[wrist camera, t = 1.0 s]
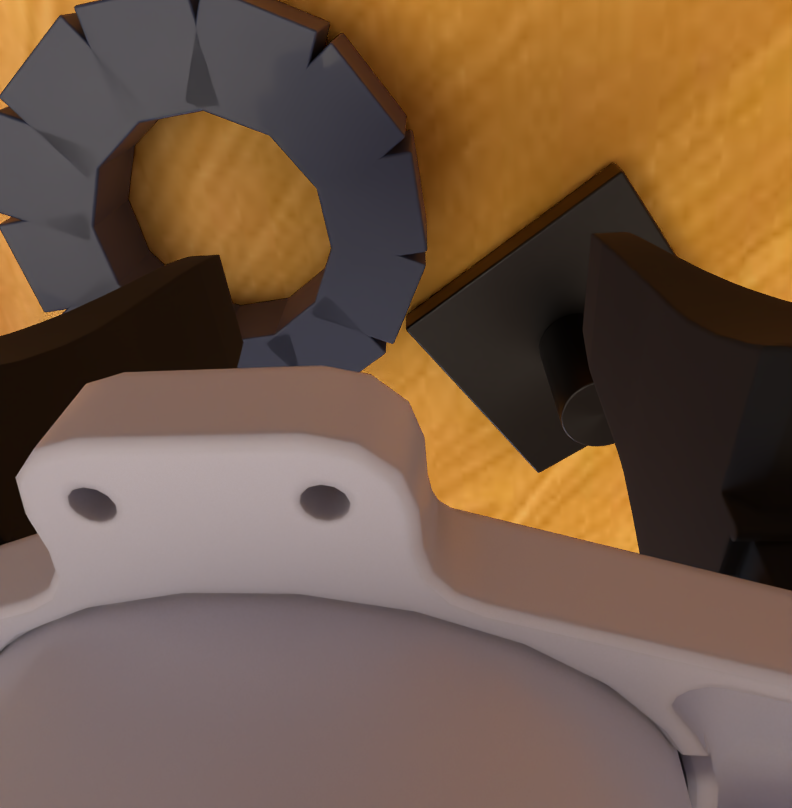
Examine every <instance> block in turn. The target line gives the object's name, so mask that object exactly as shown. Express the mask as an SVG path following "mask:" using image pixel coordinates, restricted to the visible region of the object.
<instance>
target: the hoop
mask: <svg viewBox="0 0 792 808" xmlns="http://www.w3.org/2000/svg"><path fill="white" fill-rule="evenodd" d="M74 8H75V11H76V13H72V14H65V15H60V16H59V17H58V18H57V20H56V21H55V22H54V24H53V25H52V26H51V28H50V29H49V30H48V32H47V33H46V34H45V36H44V37H43V38H42V40H41V41H40V42H39V44H38V45H37V46H36V48H35V49H34V50H33V52H32V53H31V54H30V55H29V57H28V58H27V59H26V61H25V62H24V63H23V65H22V66H21V67H20V69H19V70H18V71H17V73H16V74H15V75H14V77H13V78H12V79H11V81H10V82H9V83H8V85H7V86H6V87H5V89H4V90H3V91H2V93H1V94H0V99H1V100H2V101H3V102H5V103H6V104H7V105H8V106H9V107H6V108H3V109H1V110H0V213H2V214H5V215H8V216H11V218H9V219H8V220H6V221H4V222H3V223H1V224H0V230H1V232H2V234H3V236H4V237H5V239H6V241H7V243H8V245H9V247H10V249H11V251H12V252H13V254H14V256H15V258H16V260H17V262H18V264H19V266H20V267H21V269H22V271H23V273H24V275H25V277H26V279H27V281H28V282H29V284H30V286H31V288H32V290H33V292H34V294H35V296H36V297H37V299H38V301H39V303H40V305H41V307H42V309H43V311H44V312H51V311H57V310H64V309H66V310H65V312H64V313H66V312H69V311H71V310H73V309H75V308H77V307H80V306H82V305H84V304H86V303H88V302H90V301H93V300H95V299H97V298H99V297H101V296H103V295H105V294H108V293H110V292H112V291H114V290H116V289H118V288H120V287H122V286H124V285H126V284H128V283H130V282H132V281H134V280H136V279H138V278H140V277H142V276H144V275H146V274H148V273H150V272H152V271H154V270H156V269H158V268H160V267H163V266H165V265H164V264H163V263H162V262H161V261H160V260H159V259H157V258H156V257H155V256H154V255H153V254H152V253H151V252H150V251H149V249H148V247H147V244H146V242H145V239H144V237H143V234H142V232H141V229H140V227H139V225H138V222H137V220H136V217H135V215H134V212H133V210H132V207H131V205H130V202H129V200H128V196H129V188H130V179H131V171H132V163H133V155H134V147H135V145H136V144H137V142H138V141H139V140H140V139H141V138H142V137H143V136H144V135H145V134H146V133H147V131H148V130H149V129H150V128H151V127H152V126H153V125H154V124H155V123H156V121H157V120H158V119H163V118H168V117H173V116H178V115H183V114H189V113H194V112H199V111H206V112H208V113H211V114H213V115H216V116H219V117H221V118H224V119H227V120H229V121H232V122H235V123H237V124H240V125H243V126H245V127H248V128H251V129H253V130H256V131H259V132H261V133H264V134H266V135H269V136H270V137H271V138H272V139H273V140H274V141H275V142H276V143H277V144H278V146H279V147H280V148H281V149H282V150H283V151H284V152H285V153H286V155H287V156H288V157H289V158H290V159H291V160H292V161H293V162H294V164H295V165H296V166H297V167H298V168H299V169H300V170H301V171H302V173H303V174H304V175H305V176H306V177H307V178H308V179H309V180H310V182H311V183H312V184H313V185H314V186H315V187H316V188H317V192H318V196H319V200H320V204H321V208H322V212H323V216H324V220H325V225H326V229H327V233H328V237H329V241H330V245H331V251H330V254H329V257H328V260H327V263H326V266H325V268H324V269H323V270H322V271H321V272H319V273H318V274H317V275H316V276H315V277H313V278H312V279H311V280H310V281H309V282H307V283H306V284H305V285H304V286H303V287H301V288H300V289H299V290H298V291H297V292H295V293H294V294H293V295H292V296H291V297H289V298H286V299H279V300H273V301H266V302H260V303H253V304H247V305H237V304H234V303H233V307H234V310H235V314H236V318H237V321H238V325H239V328H240V332H241V336H242V339H243V347H242V351H241V355H240V359H239V363H238V367H237V368H263V367H292V366H321V365H322V366H328V367H333V368H338V369H344V370H349V371H355V372H360V371H362V370H363V369H364V368H366V367H367V366H368V365H370V364H371V363H373V362H374V361H375V360H377V359H378V358H379V357H381V356H382V355H384V354H385V353H386V343H387V342H388V343H391V344H393V343H394V342H395V339H396V337H397V334H398V332H399V330H400V327H401V325H402V322H403V320H404V317H405V315H406V313H407V310H408V308H409V305H410V303H411V300H412V298H413V296H414V293H415V291H416V288H417V286H418V283H419V281H420V279H421V276H422V274H423V271H424V269H425V266H426V258H425V251H427V220H426V213H425V206H424V200H423V193H422V187H421V180H420V174H419V167H418V161H417V154H416V148H415V141H414V135H413V131H412V130H408V131H405V130H406V118H407V116H406V114H405V113H404V112H403V110H402V109H401V108H400V106H399V105H398V104H397V103H396V101H395V100H394V99H393V97H392V96H391V95H390V93H389V92H388V91H387V90H386V88H385V87H384V86H383V84H382V83H381V82H380V80H379V79H378V78H377V77H376V75H375V74H374V73H373V71H372V70H371V69H370V67H369V66H368V65H367V64H366V62H365V61H364V60H363V58H362V57H361V56H360V54H359V53H358V52H357V50H356V49H355V48H354V47H353V45H352V44H351V43H350V41H349V40H348V39H347V37H346V36H345V35H344V34H343V33H341V34H340V35H338V36H337V37H336V38H335V39H334V40H333V41H332V42H330V43H329V44H328V45H327V46H326V47H325V48H324V45H325V41H326V37H327V34H328V30H329V26H330V23H329V22H328V21H325V20H323V19H320V18H318V17H316V16H313V15H311V14H308V13H306V12H304V11H301V10H299V9H296V8H294V7H291V6H289V5H287V4H284V3H282V2H279V1H277V0H98V1H94V2H89V3H85V4H80V5H76V6H75V7H74ZM64 313H63V314H64Z"/></svg>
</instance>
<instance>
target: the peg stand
mask: <svg viewBox="0 0 792 808" xmlns="http://www.w3.org/2000/svg"><path fill="white" fill-rule="evenodd" d="M611 232H628V233H632V234H634V235H636V236H639V237H641V238H643V239H645V240H647V241H648V242H650V243H652V244H654V245H656V246H658V247H660V248H661V249H663V250H665V251H667V252H669V253H671V254H673V255H675V253H674V252H673V250H672V248H671V247H670V245H669V244H668V242H667V240H666V239H665V237H664V236H663V234H662V232H661V231H660V229H659V228H658V226H657V224H656V223H655V221H654V220H653V218H652V216H651V215H650V213H649V212H648V210H647V208H646V207H645V205H644V204H643V202H642V200H641V199H640V197H639V196H638V194H637V192H636V191H635V189H634V188H633V186H632V184H631V183H630V181H629V180H628V178H627V176H626V175H625V173H624V172H623V171H622V170H621V169H620V168H619V167H618V166H617V165H616V164H615V163H612V164H610V165H609V166H607V167H606V168H605V169H603V170H602V171H601V172H599V173H598V174H597V175H595V176H594V177H593V178H591V179H590V180H589V181H587V182H586V183H585V184H583V185H582V186H581V187H579V188H578V189H576V190H575V191H574V192H572V193H571V194H570V195H568V196H567V197H566V198H564V199H563V200H562V201H560V202H559V203H558V204H556V205H555V206H554V207H552V208H551V209H549V210H548V211H547V212H545V213H544V214H543V215H541V216H540V217H539V218H537V219H536V220H535V221H533V222H532V223H531V224H529V225H528V226H527V227H525V228H524V229H522V230H521V231H520V232H518V233H517V234H516V235H514V236H513V237H512V238H510V239H509V240H508V241H506V242H505V243H504V244H502V245H501V246H500V247H498V248H497V249H496V250H494V251H493V252H491V253H490V254H489V255H487V256H486V257H485V258H483V259H482V260H481V261H479V262H478V263H477V264H475V265H474V266H473V267H471V268H470V269H469V270H467V271H466V272H464V273H463V274H462V275H460V276H459V277H458V278H456V279H455V280H454V281H452V282H451V283H450V284H448V285H447V286H446V287H444V288H443V289H442V290H440V291H439V292H438V293H436V294H435V295H433V296H432V297H431V298H429V299H428V300H427V301H425V302H424V303H423V304H421V305H420V306H419V307H417V308H416V309H415V310H413V311H412V312H411V313H409V314H408V315H407V316H406V330H407V332H408V333H409V334H410V335H411V336H412V337H413V338H414V339H415V340H416V341H417V342H418V343H419V345H420V346H421V347H422V348H423V349H424V350H425V351H426V352H427V353H428V354H429V355H430V356H431V357H432V359H433V360H434V361H435V362H436V363H437V364H438V365H439V366H440V367H441V368H442V369H443V370H444V372H445V373H446V374H447V375H448V376H449V377H450V378H451V379H452V380H453V381H454V382H455V383H456V385H457V386H458V387H459V388H460V389H461V390H462V391H463V392H464V393H465V394H466V395H467V396H468V398H469V399H470V400H471V401H472V402H473V403H474V404H475V405H476V406H477V407H478V408H479V409H480V411H481V412H482V413H483V414H484V415H485V416H486V417H487V418H488V419H489V420H490V421H491V422H492V424H493V425H494V426H495V427H496V428H497V429H498V430H499V431H500V432H501V433H502V434H503V435H504V437H505V438H506V439H507V440H508V441H509V442H510V443H511V444H512V445H513V446H514V447H515V448H516V450H517V451H518V452H519V453H520V454H521V455H522V456H523V457H524V458H525V459H526V460H527V461H528V463H529V464H530V465H531V466H532V467H533V468H534V469H535V470H536V471H537V472H538V473H540V472H542V471H543V470H545V469H547V468H549V467H551V466H552V465H554V464H556V463H558V462H559V461H561V460H563V459H565V458H567V457H568V456H570V455H572V454H574V453H575V452H577V451H579V450H581V449H583V448H584V447H586V446H606V445H610V444H614V443H615V442H614V439H613V437H612V434H611V431H610V428H609V425H608V422H607V419H606V417H605V414H604V411H603V408H602V405H601V402H600V399H599V397H598V394H597V391H596V388H595V385H594V382H593V379H592V376H591V373H590V370H589V365H588V359H587V354H586V348H585V342H584V335H583V319H584V309H585V298H586V287H587V276H588V265H589V254H590V243H591V234H594V233H611ZM675 256H676V255H675ZM676 257H677V256H676Z"/></svg>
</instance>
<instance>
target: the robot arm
mask: <svg viewBox="0 0 792 808" xmlns="http://www.w3.org/2000/svg"><path fill="white" fill-rule="evenodd" d="M583 335H584V342H585V348H586V354H587V359H588V365H589V370H590V373H591V376H592V379H593V382H594V385H595V388H596V391H597V394H598V397H599V399H600V402H601V405H602V408H603V411H604V414H605V417H606V419H607V422H608V425H609V428H610V431H611V434H612V437H613V439H614V442H615V445H616V448H617V451H618V454H619V457H620V461H621V464H622V468H623V471H624V476H625V481H626V486H627V490H628V495H629V500H630V505H631V510H632V514H633V520H634V525H635V530H636V536H637V541H638V546H639V552H640V554H638V553H634V552H630V551H626V550H622V549H618V548H614V547H610V546H605V545H601V544H597V543H593V542H589V541H585V540H581V539H577V538H573V537H569V536H564V535H560V534H556V533H552V532H548V531H544V530H540V529H536V528H532V527H527V526H523V525H519V524H515V523H511V522H507V521H503V520H499V519H495V518H491V517H486V516H482V515H478V514H474V513H470V512H466V511H462V510H458V509H454V508H450V507H449V506H447V505H445V504H444V503H442V502H441V501H439V500H438V499H437V497H436V496H435V494H434V493H433V491H432V489H431V485H430V481H429V478H428V473H427V462H426V450H425V439H424V435H423V433H422V431H421V428H420V426H419V424H418V422H417V419H416V417H415V415H414V413H413V410H412V408H411V406H410V403H409V401H407V400H406V399H404V398H403V397H402V396H400V395H399V394H397V393H396V392H395V391H393V390H392V389H390V388H389V387H388V386H386V385H385V384H383V383H382V382H381V381H379V380H378V379H376V378H375V377H374V376H372V375H371V374H365V373H360V372H355V371H349V370H344V369H338V368H333V367H328V366H322V365H321V366H292V367H263V368H237V367H238V363H239V359H240V355H241V351H242V347H243V339H242V336H241V332H240V328H239V325H238V321H237V318H236V314H235V310H234V307H233V303H232V300H231V296H230V292H229V289H228V285H227V282H226V278H225V274H224V271H223V267H222V263H221V260H220V256H219V255H209V256H191V257H186V258H183V259H180V260H177V261H174V262H172V263H169V264H167V265H165V266H163V267H160V268H158V269H156V270H154V271H152V272H150V273H148V274H146V275H144V276H142V277H140V278H138V279H136V280H134V281H132V282H130V283H128V284H126V285H124V286H122V287H120V288H118V289H116V290H114V291H112V292H110V293H108V294H105V295H103V296H101V297H99V298H97V299H95V300H93V301H90V302H88V303H86V304H84V305H82V306H80V307H77V308H75V309H73V310H71V311H69V312H66V313H64V314H62V315H59V316H57V317H54V318H52V319H49V320H47V321H44V322H41V323H38V324H36V325H33V326H30V327H27V328H25V329H22V330H19V331H16V332H13V333H10V334H6V335H3V336H0V808H792V302H788V301H785V300H781V299H778V298H775V297H772V296H769V295H766V294H763V293H760V292H757V291H754V290H750V289H747V288H745V287H742V286H740V285H737V284H734V283H732V282H729V281H727V280H725V279H723V278H720V277H718V276H716V275H713V274H711V273H709V272H707V271H704V270H702V269H700V268H698V267H696V266H694V265H692V264H690V263H688V262H686V261H684V260H682V259H680V258H678V257H676V256H675V255H673V254H671V253H669V252H667V251H665V250H663V249H661V248H660V247H658V246H656V245H654V244H652V243H650V242H648V241H647V240H645V239H643V238H641V237H639V236H636V235H634V234H632V233H628V232H611V233H594V234H591V243H590V254H589V265H588V276H587V287H586V298H585V309H584V319H583Z"/></svg>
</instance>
